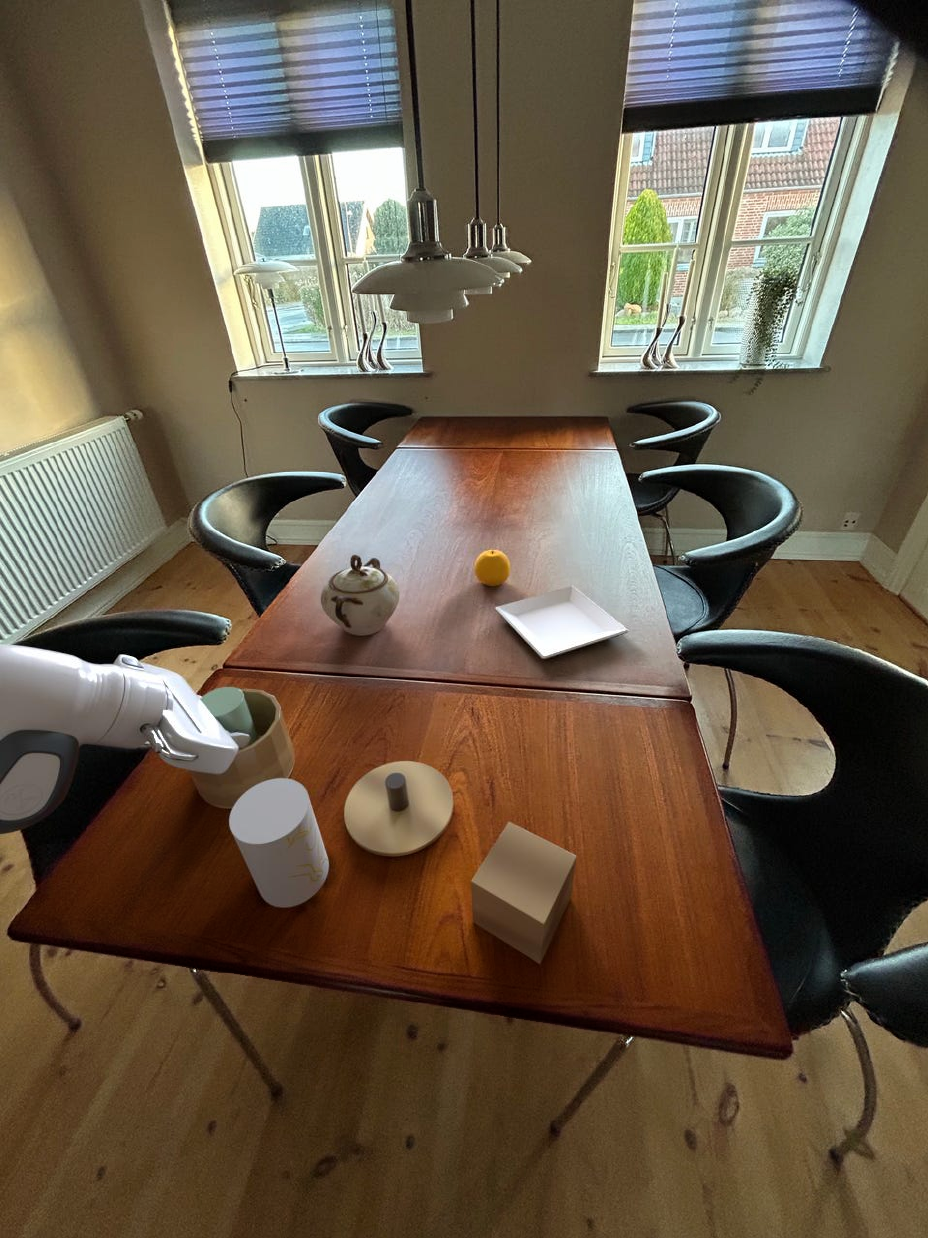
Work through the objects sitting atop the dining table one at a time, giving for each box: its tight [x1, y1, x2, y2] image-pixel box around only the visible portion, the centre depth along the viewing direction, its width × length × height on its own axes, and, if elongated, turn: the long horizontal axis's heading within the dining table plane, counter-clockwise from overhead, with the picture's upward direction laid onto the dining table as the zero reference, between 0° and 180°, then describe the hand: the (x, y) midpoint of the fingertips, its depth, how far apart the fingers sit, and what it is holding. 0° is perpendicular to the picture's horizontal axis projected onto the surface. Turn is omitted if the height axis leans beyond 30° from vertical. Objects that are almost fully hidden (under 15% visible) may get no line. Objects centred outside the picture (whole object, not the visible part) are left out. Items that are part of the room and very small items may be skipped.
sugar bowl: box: [320, 554, 400, 637], centre depth 102 cm, size 20×15×15 cm
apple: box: [473, 549, 511, 587], centre depth 116 cm, size 8×8×8 cm
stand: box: [470, 821, 578, 965], centre depth 56 cm, size 8×8×8 cm
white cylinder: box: [228, 778, 330, 908], centre depth 59 cm, size 8×8×12 cm
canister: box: [200, 686, 259, 751], centre depth 72 cm, size 6×6×11 cm
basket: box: [187, 688, 296, 810], centre depth 73 cm, size 13×13×10 cm
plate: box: [494, 585, 630, 660], centre depth 103 cm, size 19×19×2 cm
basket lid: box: [343, 760, 454, 857], centre depth 68 cm, size 14×14×6 cm
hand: (234, 725), depth 72 cm, fingers closed on canister, 6 cm apart
